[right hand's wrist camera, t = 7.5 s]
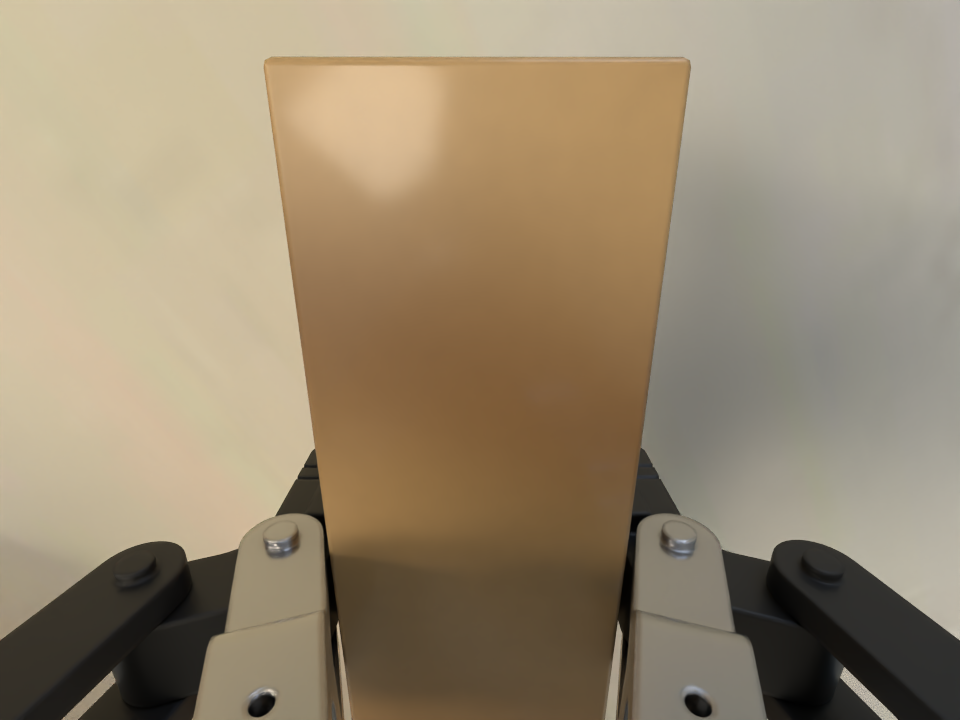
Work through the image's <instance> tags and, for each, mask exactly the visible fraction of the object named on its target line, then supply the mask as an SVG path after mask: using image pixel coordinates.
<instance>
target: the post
mask: <svg viewBox="0 0 960 720" xmlns="http://www.w3.org/2000/svg"><path fill="white" fill-rule="evenodd" d="M690 70H691V65H690V60H688V59H686V58H684V57H270V58H268V59H266V60H265V63H264V73H265V80H266V87H267V95H268V102H269V110H270V117H271V124H272V132H273V139H274V147H275V154H276V161H277V169H278V176H279V183H280V191H281V198H282V206H283V213H284V220H285V228H286V235H287V243H288V250H289V257H290V265H291V272H292V280H293V287H294V294H295V302H296V309H297V317H298V324H299V331H300V339H301V346H302V354H303V361H304V368H305V376H306V383H307V390H308V398H309V405H310V413H311V420H312V427H313V435H314V442H315V450H316V457H317V464H318V472H319V479H320V487H321V494H322V501H323V509H324V516H325V524H326V531H327V538H328V546H329V553H330V560H331V568H332V575H333V583H334V590H335V597H336V605H337V612H338V620H339V627H340V634H341V642H342V649H343V657H344V664H345V671H346V679H347V686H348V694H349V701H350V708H351V716H352V720H605V713H606V706H607V698H608V691H609V683H610V676H611V668H612V660H613V653H614V645H615V638H616V630H617V623H618V615H619V607H620V600H621V592H622V585H623V577H624V570H625V562H626V554H627V547H628V539H629V532H630V524H631V517H632V509H633V502H634V494H635V486H636V479H637V471H638V464H639V456H640V449H641V441H642V433H643V426H644V418H645V411H646V403H647V396H648V388H649V380H650V373H651V365H652V358H653V350H654V343H655V335H656V328H657V320H658V312H659V305H660V297H661V290H662V282H663V275H664V267H665V259H666V252H667V244H668V237H669V229H670V222H671V214H672V206H673V199H674V191H675V184H676V176H677V169H678V161H679V153H680V146H681V138H682V131H683V123H684V116H685V108H686V101H687V93H688V85H689V78H690Z"/></svg>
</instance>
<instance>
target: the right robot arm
mask: <svg viewBox="0 0 960 720" xmlns="http://www.w3.org/2000/svg"><path fill="white" fill-rule="evenodd" d="M652 465H653V464H652V463H651V461H650V459H649V457H648V456H647V454H646V452H645V450H643V449H642V448H641V449H640V456H639V464H638V471H637V479H636V486H635V494H634V502H633V509H632V517H631V524H630V532H629V539H628V547H627V554H626V562H625V570H624V577H623V585H622V592H621V600H620V607H619V615H618V621H619V624H620V628H621V631H622V640H621V651H620V666H619V680H618V695H617V710H616V720H767V719H768V720H882V719H881V718H880V717H879V716H878V715H877V714H876V713H875V712H874V711H873V710H872V709H871V708H870V707H869V706H868V705H867V704H866V703H865V702H864V701H863V700H862V699H861V698H860V697H859V696H858V695H857V694H856V693H855V692H854V691H853V690H852V689H851V688H850V687H849V686H848V685H847V684H846V683H845V682H844V681H843V680H842V679H841V678H840V676H841V673H842V671H843V668H844V667H845V668H846V669H847V670H848V671H849V672H850V673H851V674H852V675H853V676H854V677H855V678H856V679H858V680H859V681H860V682H861V683H862V684H863V685H864V686H865V687H866V688H867V689H868V690H869V691H870V692H871V693H872V694H873V695H874V696H875V697H876V698H877V699H878V700H879V701H880V702H881V703H882V704H883V705H884V706H885V707H886V708H887V709H888V710H889V711H890V712H892V713H893V715H894V716H895V717H896V718H897V719H898V720H960V640H958V639H957V638H956V637H954V636H953V635H952V634H950V633H949V632H948V631H946V630H945V629H944V628H942V627H941V626H940V625H938V624H937V623H936V622H934V621H933V620H932V619H931V618H929V617H928V616H927V615H925V614H924V613H923V612H921V611H920V610H919V609H917V608H916V607H915V606H913V605H912V604H911V603H909V602H908V601H907V600H905V599H904V598H903V597H901V596H900V595H899V594H897V593H896V592H895V591H893V590H892V589H891V588H889V587H888V586H887V585H885V584H884V583H883V582H881V581H880V580H879V579H878V578H876V577H875V576H874V575H872V574H871V573H870V572H868V571H867V570H866V569H864V568H863V567H862V566H860V565H859V564H858V563H856V562H855V561H854V560H852V559H851V558H849V557H848V556H846V555H844V554H843V553H841V552H839V551H837V550H835V549H833V548H831V547H828V546H825V545H822V544H819V543H815V542H811V541H805V540H789V541H785V542H782V543H780V544H778V545H777V546H776V547H775V548H774V551H773V553H772V557H771V561H766V560H762V559H757V558H753V557H748V556H744V555H739V554H735V553H731V552H728V551H725V550H722V549H721V545H720V542H719V540H718V539H717V537H716V536H715V535H714V534H713V532H711V531H710V530H709V529H708V528H707V527H705V526H704V525H702V524H701V523H699V522H697V521H695V520H693V519H690V518H688V517H685V516H681V515H680V513H679V511H678V509H677V507H676V506H675V504H674V502H673V500H672V499H671V497H670V495H669V493H668V491H667V490H666V488H665V486H664V484H663V482H662V481H661V479H659V475H658V473H657V472H656V470H655V468H654V467H653V466H652ZM337 623H338V612H337V605H336V597H335V590H334V583H333V575H332V568H331V560H330V553H329V546H328V538H327V531H326V524H325V516H324V509H323V501H322V494H321V487H320V479H319V472H318V464H317V457H316V450H315V449H314V450H313V451H312V452H311V454H310V456H309V457H308V459H307V461H306V463H305V465H304V468H302V470H301V472H300V473H299V475H298V479H296V480H295V482H294V484H293V486H292V488H291V489H290V491H289V493H288V495H287V496H286V498H285V500H284V502H283V503H282V505H281V507H280V509H279V510H278V512H277V514H276V516H275V517H272V518H269V519H267V520H265V521H263V522H261V523H259V524H258V525H256V526H255V527H253V528H252V529H251V530H250V531H249V532H247V533H246V535H245V536H244V537H243V539H242V540H241V542H240V545H239V549H236V550H233V551H231V552H228V553H224V554H220V555H216V556H211V557H207V558H202V559H198V560H193V561H189V562H187V558H186V554H185V552H184V550H183V548H182V547H181V546H179V545H177V544H175V543H172V542H164V541H158V542H150V543H145V544H141V545H137V546H134V547H132V548H129V549H126V550H124V551H122V552H120V553H118V554H116V555H114V556H113V557H111V558H109V559H108V560H107V561H105V562H104V563H102V564H101V565H100V566H98V567H97V568H96V569H94V570H93V571H92V572H90V573H89V574H88V575H86V576H85V577H84V578H82V579H81V580H80V581H78V582H77V583H76V584H75V585H73V586H72V587H71V588H69V589H68V590H67V591H65V592H64V593H63V594H61V595H60V596H59V597H57V598H56V599H55V600H53V601H52V602H51V603H49V604H48V605H47V606H45V607H44V608H43V609H41V610H40V611H39V612H37V613H36V614H35V615H33V616H32V617H31V618H29V619H28V620H27V621H26V622H24V623H23V624H22V625H20V626H19V627H18V628H16V629H15V630H14V631H12V632H11V633H10V634H8V635H7V636H6V637H4V638H3V639H2V640H0V720H62V718H63V717H64V716H65V715H66V714H67V713H68V712H69V711H71V710H72V709H73V708H74V707H75V706H76V705H77V704H78V703H79V702H80V701H81V700H82V699H83V698H84V697H85V696H86V695H87V694H88V693H89V692H90V691H91V690H92V689H93V688H94V687H95V686H96V685H97V684H98V683H99V682H100V681H101V680H102V679H104V678H105V677H106V676H107V675H108V674H109V673H110V672H111V671H112V672H113V675H114V677H115V680H116V682H115V683H114V684H113V685H112V686H111V687H110V688H109V689H108V690H107V691H106V692H105V693H104V694H103V695H102V696H101V697H100V698H99V699H98V700H97V701H96V702H95V703H94V704H93V705H92V706H91V707H90V708H89V709H88V710H87V711H86V712H85V713H84V714H83V715H82V716H81V717H80V718H79V719H78V720H192V719H193V720H344V711H343V696H342V681H341V667H340V652H339V641H338V634H337Z"/></svg>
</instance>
